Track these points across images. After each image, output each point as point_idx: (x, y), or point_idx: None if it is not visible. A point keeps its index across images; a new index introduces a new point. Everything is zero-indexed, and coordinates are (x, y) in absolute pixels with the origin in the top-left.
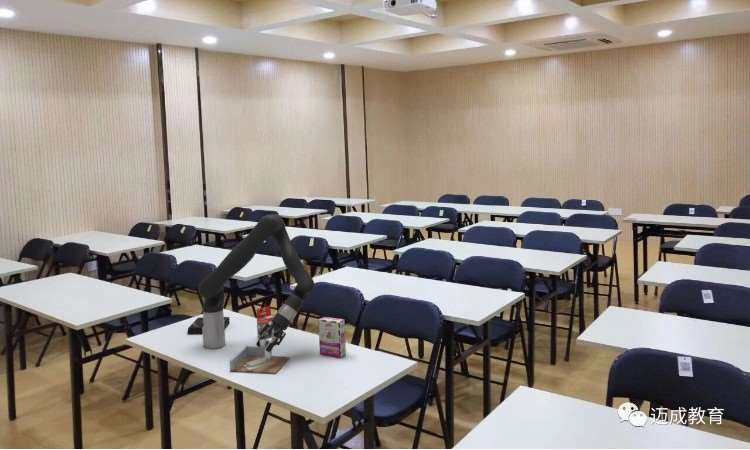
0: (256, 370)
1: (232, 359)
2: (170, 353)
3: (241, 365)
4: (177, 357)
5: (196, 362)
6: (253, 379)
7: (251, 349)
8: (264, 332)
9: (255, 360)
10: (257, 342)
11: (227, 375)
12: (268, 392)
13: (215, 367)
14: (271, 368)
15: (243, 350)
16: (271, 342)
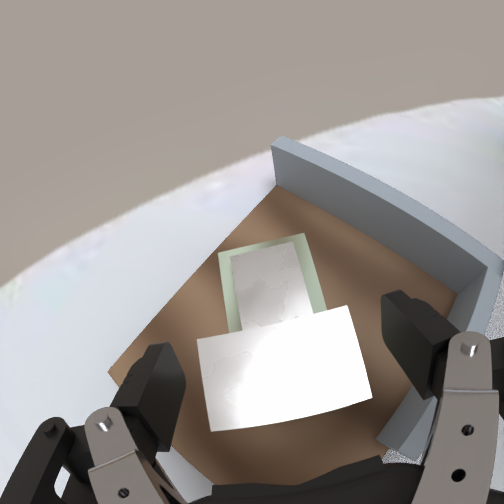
0: (193, 289)
1: (286, 146)
2: (495, 100)
3: (319, 231)
4: (472, 100)
5: (432, 116)
6: (132, 257)
7: (469, 302)
8: (466, 398)
9: (305, 306)
10: (400, 301)
11: (249, 169)
12: (26, 275)
13: (367, 146)
14: None
15: (434, 231)
16: (108, 408)
